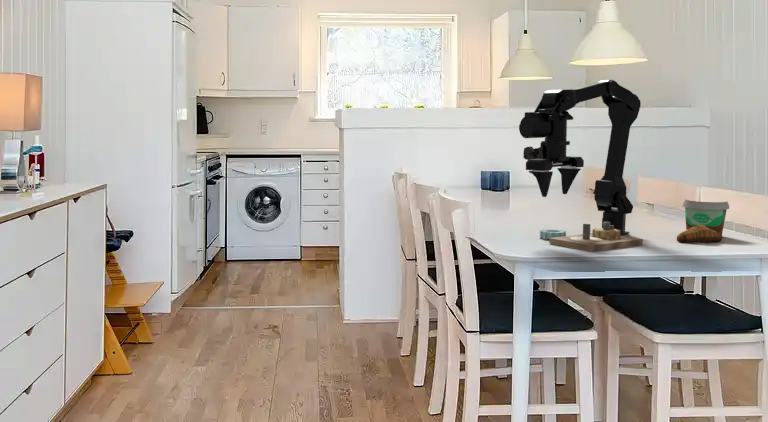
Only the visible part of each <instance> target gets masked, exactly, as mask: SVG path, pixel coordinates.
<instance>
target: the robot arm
mask: <svg viewBox="0 0 768 422" xmlns="http://www.w3.org/2000/svg"><path fill="white" fill-rule="evenodd" d="M600 97H601V100H602V103H603V104H604V105H605V106H606V107H607V108H608V113H607V115H608V118H609V121H610V123H611V130H610V136H609V143H608V148H607V154H606V155H607V156H606V162H605V170H604V174H603V176H602V178H600V179H597V180H595V182H594V190H593V192H592V194H593V195H594V199H593V200H594V202H595V203H596V208H597V211H598V212H602V217H601V228H603V222H610V225H614V229H617V230H621V232H620V236H623V235H628V234H629V235H630V231H626V220H627V219H626V218H627V217H626V216H627V214H632V213H633V209H634V205H633V203H632V202H631V201H630V199H629V198H628V197H627V186H626V183H625V181H624V178H623V177H624V169H625V163H626V156H627V150H628V144H629V143H628V142H629V136H630V132H631V131H630V130H631V127H632V125H633V124H634V123H635V121H636V119H637V118H638V116H639V112H640V109H641V104H642V103H641V100H640V98H639V97H638V95H636V94H635V93H633V92H632V91H631V90H629V89H628V88H626V87H624V86H622V85H620V84H619V83H618V82H617V81H616V80H614V79H603V80H599V81H598V82H597V81H596V82H592V83H589V84H586V85H582V86H578V87H574V88H571V89H549V90H548V89H547V90H545V91H544V92H543V95H542V96H541V100H540V101H539V103H538V105H537V106H536V108H535V110H534V111H525V112H524V116H523V117H522V119H521V120H520V123H519V125H518V129H519V130H518V131H519V133H520V135H521V137H522V138H524V139H538V138H539V139H544V140H542V141H541V142H540V145H539V147H537V148H534V147H533V146H526V147H524V148H523V159H524V160H527V161H526V162H525V170H526V171H528V173H529V174H532V175H533V177H535V178H536V181H537V185H538V187H539V190H540V191H539V192H540V194H541V196H542V198H547V196H548V193H549V190H550V185H551V180H552V177H553V173H554V172H553V171H551V170H553V168H556V169H557V171H558V172H559V173H560V175H561V190H562V191H561V193H562V194H563V195H568V192H569V191H570V189H571V186H572V185H573V183H574V181H575V179H576V177H577V176H578V174H579V171H582V169H581V168H584V167H585V165H584V163H585V161H584V159H583V157H582V156H575V155H574V156H571V155H569V156H568V155H567V146H570V145H571V141H570V140H567V137H568V136H567V135H568V132H567V131H568V121H573V120H574V117H573V115H571V114H570V112H569V110H571V109H572V108H574V107H575V106H576V105H578V104H579V103H582V102H586V101H590V100H592V99H597V98H600Z"/></svg>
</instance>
